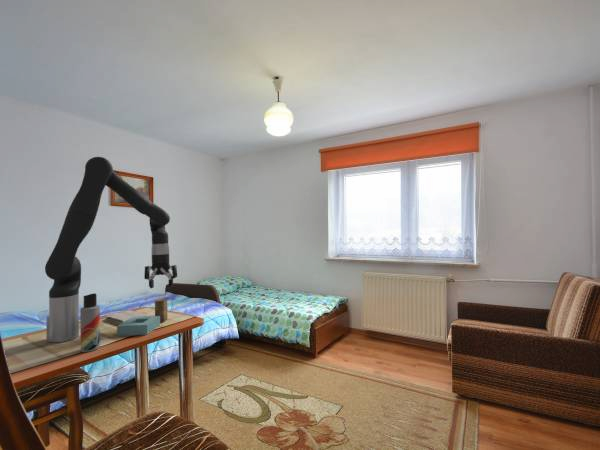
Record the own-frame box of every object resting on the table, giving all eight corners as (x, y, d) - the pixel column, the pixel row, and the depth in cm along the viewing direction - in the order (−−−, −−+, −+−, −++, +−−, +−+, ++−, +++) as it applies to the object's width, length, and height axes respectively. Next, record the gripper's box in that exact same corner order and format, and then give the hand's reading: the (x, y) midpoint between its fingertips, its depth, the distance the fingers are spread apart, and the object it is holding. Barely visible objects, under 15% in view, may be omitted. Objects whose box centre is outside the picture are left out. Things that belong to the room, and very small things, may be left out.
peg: (155, 322, 134) (154, 300, 134) (158, 319, 138) (158, 298, 138) (163, 322, 134) (163, 300, 134) (167, 319, 138) (167, 298, 138)
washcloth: (128, 314, 150) (128, 308, 150) (148, 319, 140) (148, 313, 140) (103, 320, 140) (103, 314, 140) (123, 326, 130) (123, 319, 130)
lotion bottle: (89, 352, 101) (89, 295, 101) (76, 351, 102) (76, 295, 102) (103, 346, 107) (103, 292, 107) (91, 345, 108) (90, 291, 108)
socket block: (117, 335, 117) (117, 325, 117) (132, 325, 129) (132, 317, 129) (147, 334, 118) (147, 324, 118) (160, 324, 130) (160, 316, 130)
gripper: (141, 254, 132) (141, 289, 132) (172, 253, 133) (173, 288, 133) (148, 253, 140) (149, 286, 139) (178, 252, 140) (179, 285, 140)
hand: (161, 287), depth 136 cm, fingers open, 8 cm apart
